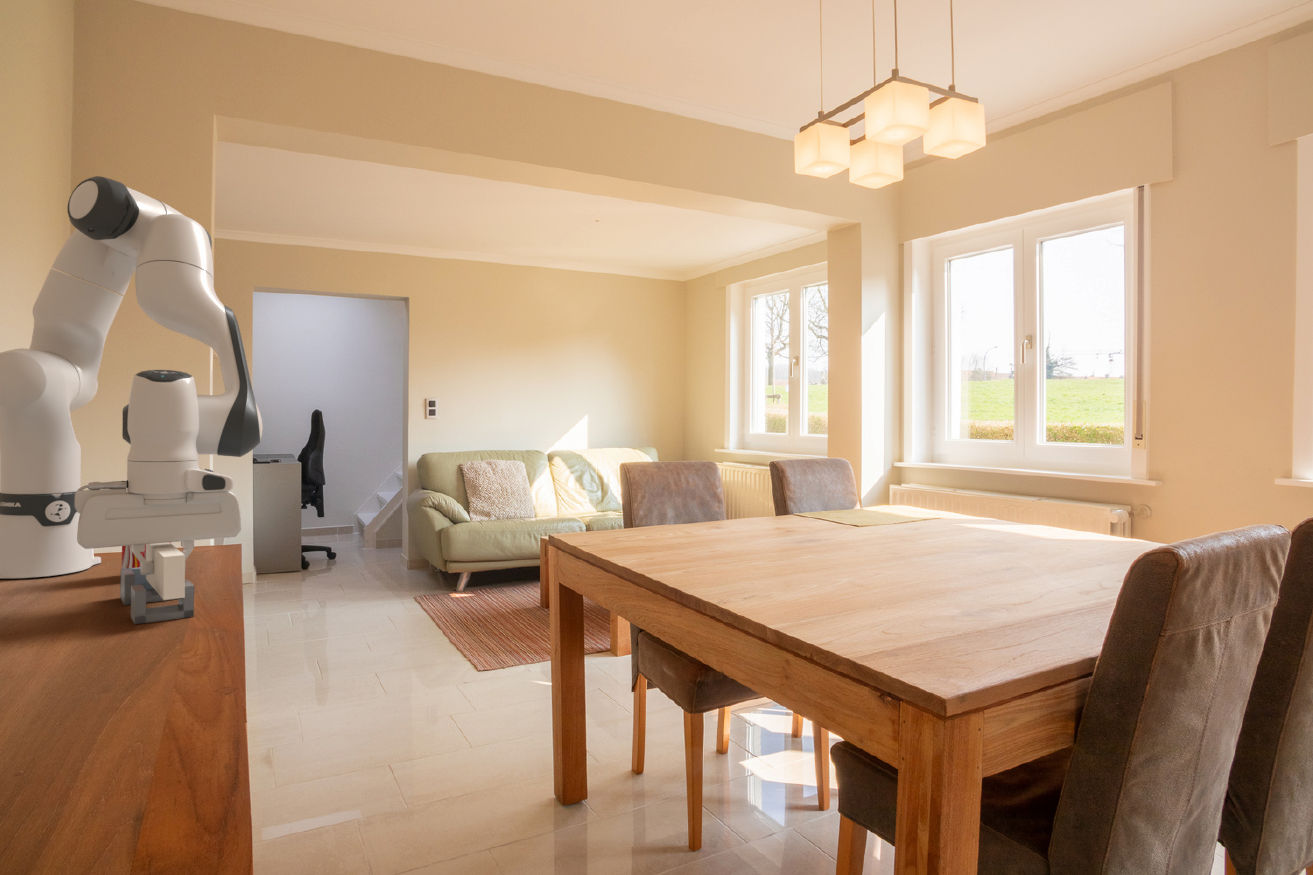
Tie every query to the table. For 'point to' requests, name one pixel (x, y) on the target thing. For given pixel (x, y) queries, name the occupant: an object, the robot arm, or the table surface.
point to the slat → (166, 570)
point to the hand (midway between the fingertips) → (163, 572)
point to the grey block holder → (152, 599)
